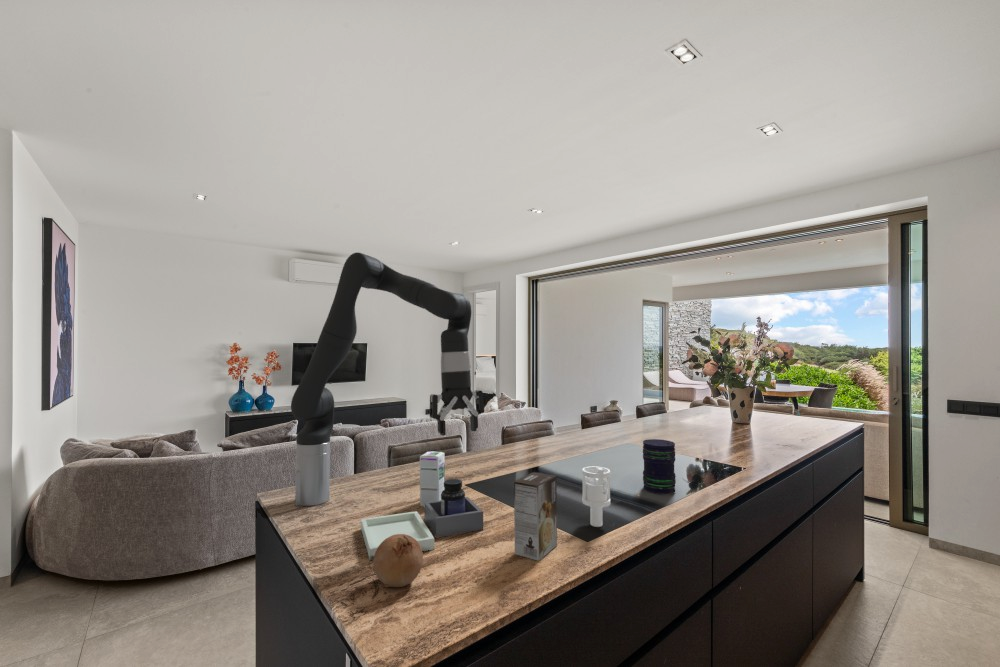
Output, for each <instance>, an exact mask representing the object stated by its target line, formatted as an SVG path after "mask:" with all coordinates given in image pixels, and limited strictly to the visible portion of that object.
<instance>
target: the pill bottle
mask: <svg viewBox="0 0 1000 667" xmlns="http://www.w3.org/2000/svg"><path fill="white" fill-rule="evenodd" d="M444 487H445V490H443V491H442V493H441V516H446V515H453V514H460V513H465V497H466V493H465V490H464V489H462V487H463V480H462V479H460V478H459V479H458V478H450V479H445V481H444Z"/></svg>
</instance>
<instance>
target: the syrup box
mask: <svg viewBox="0 0 1000 667" xmlns="http://www.w3.org/2000/svg"><path fill="white" fill-rule="evenodd" d="M445 459H446V456H445V452H444V451H433V450H432V451H426V452H425V453H424V454H422V455H420V456H419V499H420V500H419V505H420V507H424V506H425V502H432V501H440V500H441V493H442V491H443V490H445V487H444V481H445V480H446V473H445V472H446V466H445V465H446V464H445Z"/></svg>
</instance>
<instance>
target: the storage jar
mask: <svg viewBox="0 0 1000 667" xmlns="http://www.w3.org/2000/svg"><path fill="white" fill-rule="evenodd" d="M675 447H676V443H675V442H674V441H670V440H667V439H657V438H656V439H655V438H654V439H652V438H651V439H650V438H649V439H644V440H643V441H642V459H643V471H642V481H643V482H642V483H643V487H642V488H643V490H644V491H646V492H648V493H651V494H655V495H671V494H672V493H673V494H675V493H676V481H677V479H676V477H677V476H676V473H675V462H676V448H675ZM674 492H675V493H674Z"/></svg>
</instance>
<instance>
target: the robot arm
mask: <svg viewBox="0 0 1000 667" xmlns="http://www.w3.org/2000/svg"><path fill="white" fill-rule="evenodd" d="M361 288H365V289H367V290H368V289H369V290H370V289H372V290H378V291H383V292H388V293H391V294H392V295H395V296H397V297H398V298H400V299H402V300H403V301H405V302H406V303H408V304H411V305H414V306H416V307H419V308H421V309H424V310H425V311H427V312H429V313H430V314H431V315H433V316H435V317H438V318H439V319H444V320H448V323H447V329H445V330H443V331H442V332H441V334H440V348H441V349H440V351H441V354H440V373H441V374H440V376H441V377H440V378H441V394H436V393H435V394H434V393H431V394H430V395H429V418H431V419H434V420H436V421H437V432H438V434H439V435H440V436H442V437H443V436H446V435H447V433H446V429H447V428H446V420H445V418H446V417H447V415H448V414H449V413H450V412H451V411H456V410H464V409H465V410H466V411H467V412H468V413H469V415H470V416H469V425H470V431H471V432H477V429H478V428H479V416H480V415H481V414H484V413H485V402H484V396H483V395H484V393H483V391H482V390H479V389H476V390H474V391H472V388H471V387H472V382H471V381H472V380H471V378H472V376H471V361H470V354H469V340H468V338H469V337H468V336H469V330H470V324H471V320H472V319H471V318H472V305H471V301H470V300H469V298H468V297H467V296H466V295H464V294H461V293H456V292H451V291H447V290H444V289H441V288H438V287H437V286H436V285H435V284H432V283H430V282H427V281H425V280H422V279H420V278H417V277H413V276H410V275H406V274H403V273H400V272H398V271H397V270H395V269H393V268H392V267H389V265H387V264H385V263H384V262H382V261H380V260H379V259H377V258H376V257H373V256H370V255H368V254H364V253H361V252H359V251H358V252H353V253H352V254H350V255H349V256H348V257H347V259H346V260H345V262H344V264H343V266H342V269H341V273H340V276H339V280H338V283H337V288H336V292H335V295H334V298H333V301H332V304H331V306H330V309H329V312H328V314H327V317H326V320H325V323H324V324H323V327H322V330H321V332H320V334H319V337H318V340H317V343H316V346H315V348H314V351H313V353H312V356H311V357H310V360H309V363H308V364H307V367H306V370H305V372H304V374H303V376H302V378H301V380H300V382H299V384H298V386H297V387H296V390H295V392H294V393H293V395H292V398H291V401H290V409H291V413H292V416H293V417H294V418H295V419H296V420H297V421H302V422H305V421H306V422H305V424H304V426H303V427H302V429H301V430H300V431H299V432H298V433H297V434H296V451H295V453H296V454H295V456H296V457H295V458H296V459H295V460H296V462H295V497H294V499H295V504H294V505H295V507H297V506H303V507H304V506H306V507H307V506H309V507H310V506H316V505H321V504H325V503H326V502H329V500H330V491H331V490H330V484H331V483H330V482H331V481H330V479H331V477H330V476H331V435H332V433H333V429H334V423H335V422H334V420H335V419H334V418H335V398H334V395H333V393H332V391H331V390H330V389H328V388H327V387H325V386H326V385H327V383H328V381H329V379H330V378H331V376H332V375H333V373H335V371H336V370H337V369H338V368H339V366H341V364H342V363H343V362H344V361H345V359H346V357H348V356H349V354H350V351H351V349H352V346H353V344H354V341H355V339H356V336H357V329H358V327H357V319H356V318H357V317H356V302H357V299H358V295H359V292H360V291H361ZM472 398H473V399H474V402H475V405H473V403H472V402H471V400H472ZM440 401H442V402H443V404H442V406H441V407H440V409H439V411H438V408H439V403H440Z"/></svg>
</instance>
